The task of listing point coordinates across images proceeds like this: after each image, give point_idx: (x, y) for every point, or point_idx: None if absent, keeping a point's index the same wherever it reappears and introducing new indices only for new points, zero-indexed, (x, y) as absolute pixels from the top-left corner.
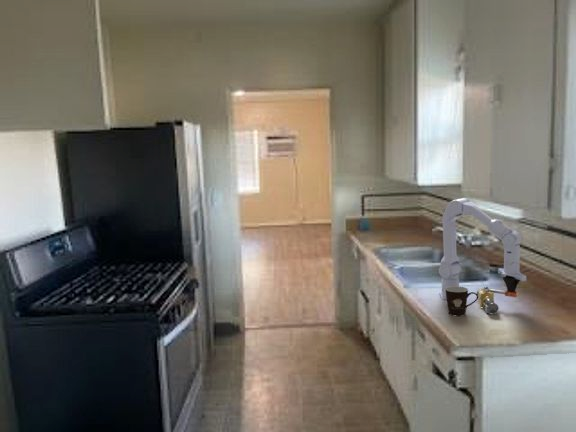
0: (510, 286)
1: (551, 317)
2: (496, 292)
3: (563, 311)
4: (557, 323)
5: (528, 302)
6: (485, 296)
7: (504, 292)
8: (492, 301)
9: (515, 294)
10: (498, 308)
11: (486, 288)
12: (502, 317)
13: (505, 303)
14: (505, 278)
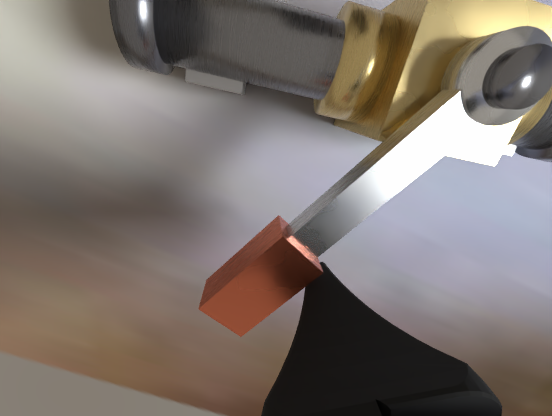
0: (299, 331)
1: (126, 330)
2: (360, 164)
3: (209, 391)
4: (31, 319)
5: None
6: (391, 40)
7: (296, 228)
8: (251, 60)
9: (208, 292)
10: (135, 67)
11: (494, 74)
12: (121, 85)
13: (389, 232)
14: (389, 411)
